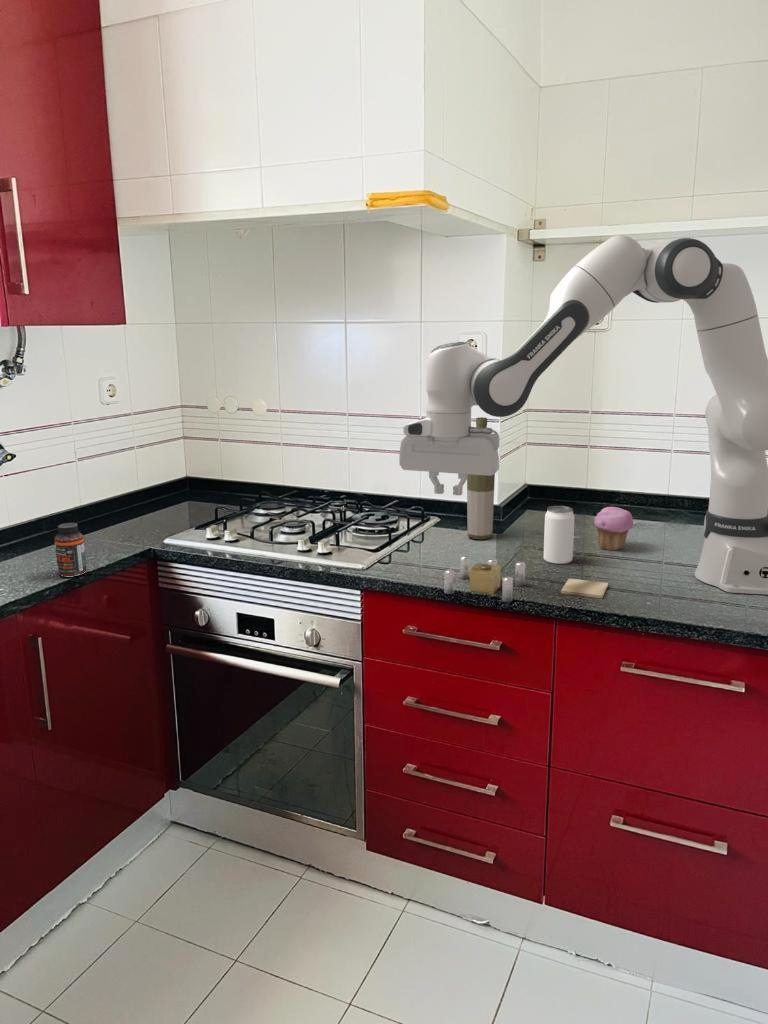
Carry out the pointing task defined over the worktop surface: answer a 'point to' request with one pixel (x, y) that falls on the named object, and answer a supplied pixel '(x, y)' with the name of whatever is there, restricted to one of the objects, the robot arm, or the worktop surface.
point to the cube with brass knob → (484, 578)
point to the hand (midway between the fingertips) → (448, 494)
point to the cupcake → (613, 527)
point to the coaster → (584, 588)
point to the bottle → (480, 500)
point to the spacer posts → (507, 581)
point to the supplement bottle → (70, 550)
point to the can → (559, 535)
